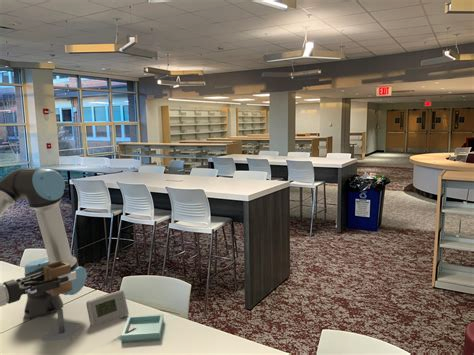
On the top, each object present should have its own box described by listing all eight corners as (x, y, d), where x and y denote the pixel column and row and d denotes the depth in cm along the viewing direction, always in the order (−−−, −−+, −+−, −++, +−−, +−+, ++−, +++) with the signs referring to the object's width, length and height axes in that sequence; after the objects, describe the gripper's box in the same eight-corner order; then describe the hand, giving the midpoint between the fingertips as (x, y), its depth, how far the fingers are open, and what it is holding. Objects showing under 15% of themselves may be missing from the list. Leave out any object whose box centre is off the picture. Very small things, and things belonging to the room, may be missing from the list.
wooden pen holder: (45, 291, 143) (42, 265, 141) (63, 285, 148) (61, 260, 146) (53, 296, 138) (51, 270, 137) (72, 289, 143) (70, 264, 142)
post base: (53, 329, 151) (50, 304, 149) (81, 327, 152) (79, 302, 150) (41, 344, 140) (38, 318, 138) (72, 342, 141) (69, 316, 139)
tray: (128, 323, 154) (128, 316, 153) (163, 321, 155) (163, 314, 155) (121, 343, 140) (120, 335, 140) (159, 340, 141) (159, 332, 141)
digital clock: (90, 331, 149) (87, 305, 147) (86, 321, 157) (83, 296, 155) (131, 319, 157) (129, 295, 156) (125, 310, 165) (123, 287, 163)
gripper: (-5, 295, 136) (59, 275, 153) (17, 312, 123) (84, 288, 140) (-7, 275, 134) (58, 257, 152) (14, 290, 122) (82, 269, 139)
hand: (70, 272), depth 146 cm, fingers closed on wooden pen holder, 7 cm apart
